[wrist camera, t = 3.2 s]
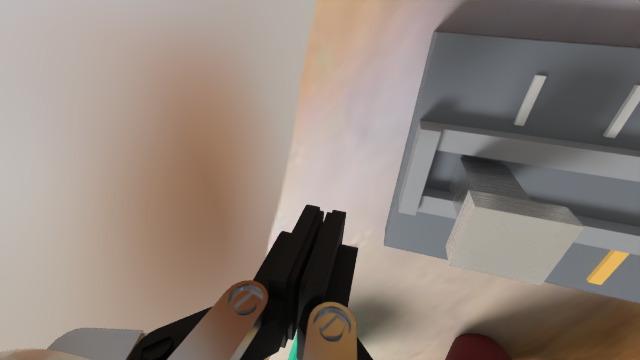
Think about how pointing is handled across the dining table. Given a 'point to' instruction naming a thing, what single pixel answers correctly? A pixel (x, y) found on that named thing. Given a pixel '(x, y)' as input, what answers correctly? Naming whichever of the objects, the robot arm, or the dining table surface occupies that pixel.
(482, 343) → the mug
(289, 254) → the robot arm
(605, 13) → the dining table surface
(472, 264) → the fader tab
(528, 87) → the console
